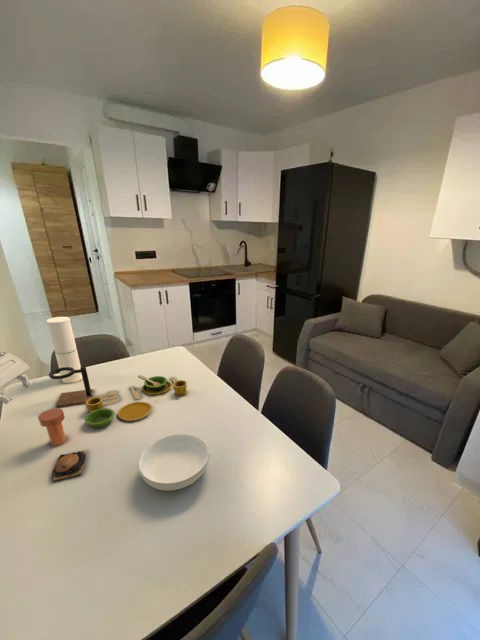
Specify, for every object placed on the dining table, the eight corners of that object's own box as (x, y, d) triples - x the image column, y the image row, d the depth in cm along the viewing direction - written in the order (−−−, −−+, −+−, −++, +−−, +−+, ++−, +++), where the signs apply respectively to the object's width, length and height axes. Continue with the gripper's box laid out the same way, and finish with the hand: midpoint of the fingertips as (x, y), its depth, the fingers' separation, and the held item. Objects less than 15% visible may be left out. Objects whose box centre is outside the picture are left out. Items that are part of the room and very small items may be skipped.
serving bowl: (209, 446, 102) (209, 430, 100) (209, 496, 83) (209, 479, 81) (147, 451, 99) (145, 435, 96) (133, 505, 80) (130, 487, 77)
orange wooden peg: (44, 450, 97) (35, 422, 92) (49, 437, 103) (41, 410, 98) (68, 445, 99) (60, 418, 95) (72, 433, 105) (65, 406, 101)
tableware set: (175, 377, 147) (174, 366, 144) (196, 404, 126) (195, 392, 123) (82, 399, 125) (79, 387, 123) (88, 437, 104) (84, 422, 102)
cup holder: (54, 407, 119) (45, 376, 113) (59, 395, 127) (51, 365, 121) (90, 402, 123) (83, 372, 117) (93, 390, 132) (87, 362, 126)
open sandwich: (83, 475, 88) (80, 466, 87) (50, 482, 85) (47, 473, 84) (88, 451, 97) (85, 443, 96) (58, 457, 94) (55, 448, 93)
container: (59, 379, 140) (43, 319, 128) (77, 372, 146) (64, 315, 134) (67, 384, 135) (51, 323, 123) (86, 377, 142) (73, 319, 130)
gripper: (-1, 355, 99) (33, 383, 104) (-57, 384, 80) (-11, 417, 85) (11, 345, 98) (46, 373, 103) (-42, 372, 79) (3, 405, 84)
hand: (19, 393), depth 94 cm, fingers open, 8 cm apart
